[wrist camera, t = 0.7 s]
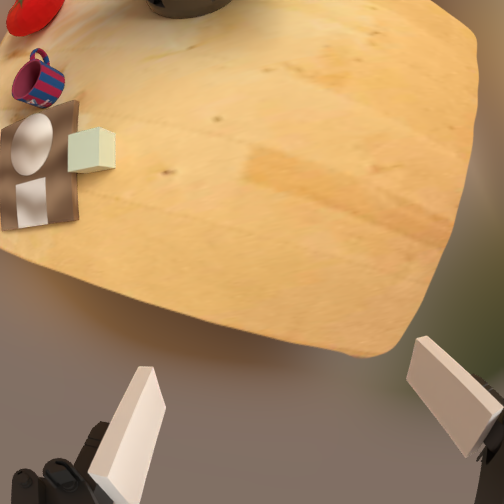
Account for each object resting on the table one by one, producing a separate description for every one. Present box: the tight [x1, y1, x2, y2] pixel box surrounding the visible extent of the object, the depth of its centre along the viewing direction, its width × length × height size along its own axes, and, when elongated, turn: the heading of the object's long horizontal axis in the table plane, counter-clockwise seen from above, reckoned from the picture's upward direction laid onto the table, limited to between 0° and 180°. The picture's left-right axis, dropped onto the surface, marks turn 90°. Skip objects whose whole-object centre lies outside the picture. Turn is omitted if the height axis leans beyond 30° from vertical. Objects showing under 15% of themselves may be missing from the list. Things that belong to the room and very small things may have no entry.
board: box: [0, 100, 79, 231], centre depth 32 cm, size 18×18×2 cm
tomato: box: [6, 0, 65, 36], centre depth 21 cm, size 11×13×10 cm
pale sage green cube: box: [68, 127, 116, 173], centre depth 31 cm, size 5×5×5 cm
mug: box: [12, 48, 65, 108], centre depth 27 cm, size 7×10×7 cm
